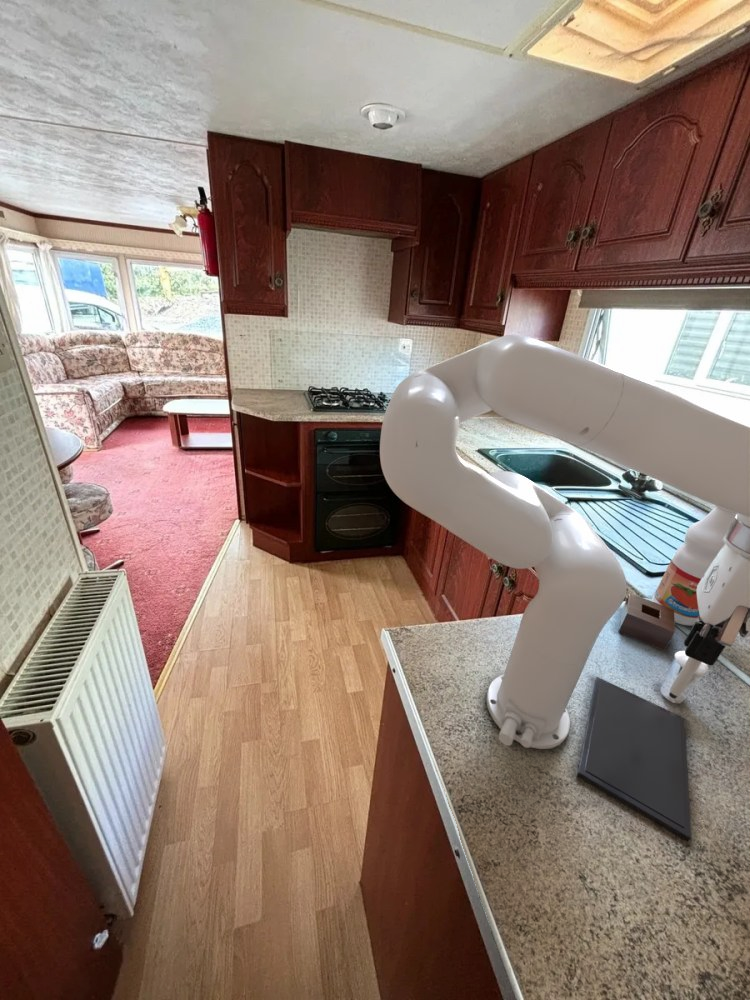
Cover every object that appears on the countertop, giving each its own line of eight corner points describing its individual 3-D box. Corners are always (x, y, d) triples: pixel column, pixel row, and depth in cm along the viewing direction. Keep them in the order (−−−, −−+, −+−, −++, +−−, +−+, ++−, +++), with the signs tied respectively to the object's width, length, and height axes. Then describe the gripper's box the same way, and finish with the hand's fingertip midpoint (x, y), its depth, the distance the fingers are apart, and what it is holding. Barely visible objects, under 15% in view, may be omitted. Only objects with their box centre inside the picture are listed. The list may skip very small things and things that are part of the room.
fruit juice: (684, 601, 95) (742, 494, 83) (708, 630, 86) (778, 515, 74) (642, 595, 95) (694, 487, 83) (662, 622, 87) (723, 507, 75)
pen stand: (664, 651, 79) (675, 632, 77) (618, 632, 83) (627, 613, 81) (664, 627, 86) (674, 609, 83) (621, 610, 89) (629, 592, 87)
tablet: (688, 842, 50) (691, 837, 49) (576, 776, 56) (578, 771, 55) (682, 722, 65) (685, 717, 65) (595, 680, 71) (597, 675, 71)
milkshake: (677, 714, 66) (704, 671, 62) (649, 686, 71) (673, 644, 67) (697, 709, 68) (725, 666, 63) (669, 682, 72) (693, 641, 68)
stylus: (678, 702, 59) (724, 629, 53) (666, 696, 59) (711, 624, 53) (678, 695, 60) (723, 623, 54) (666, 690, 61) (710, 618, 54)
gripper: (721, 509, 56) (665, 612, 64) (737, 557, 44) (666, 677, 52) (792, 528, 52) (723, 635, 60) (831, 586, 40) (739, 709, 48)
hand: (697, 653), depth 56 cm, fingers closed on stylus, 1 cm apart
